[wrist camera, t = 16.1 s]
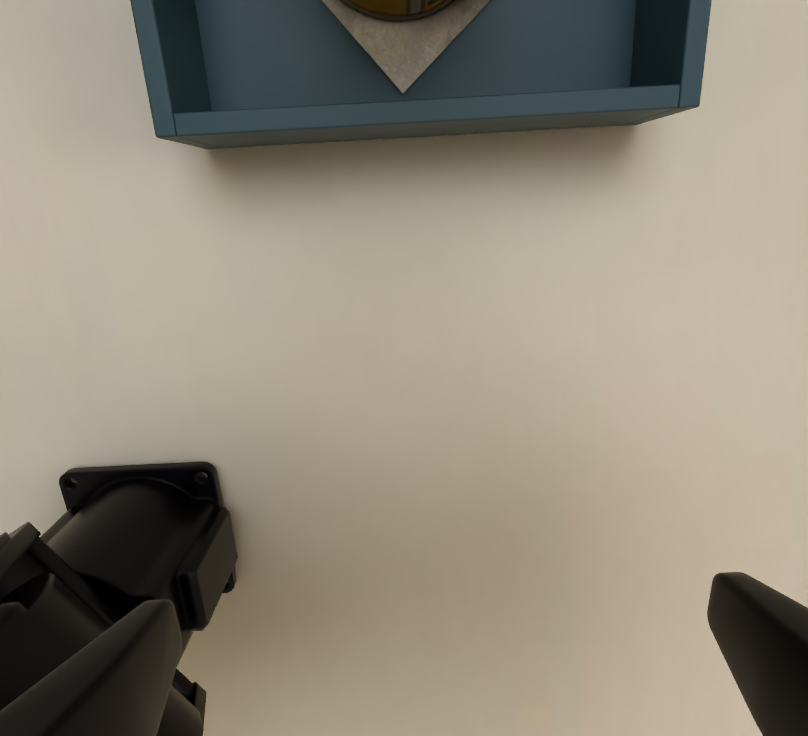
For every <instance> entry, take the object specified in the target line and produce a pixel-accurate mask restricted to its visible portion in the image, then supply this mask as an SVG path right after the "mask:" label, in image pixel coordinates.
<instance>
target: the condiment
mask: <svg viewBox="0 0 808 736" xmlns="http://www.w3.org/2000/svg"><path fill="white" fill-rule="evenodd" d="M322 1H323V2H324V3H325V4H326V6H327V7H328V8H329V9H330V10H331V11H332V13H333V14H334V15H335V16H336V17H337V18H338V19H339V21H340V22H341V23H342V24H343V25H344V26H345V28H346V29H347V30H348V31H349V32H350V33H351V35H352V36H353V37H354V38H355V39H356V40H357V41H358V43H359V44H360V45H361V46H362V47H363V48H364V50H365V51H366V52H367V53H369V54H370V56H371V57H372V58H373V59H374V61H375V62H376V63H377V64H378V65H379V66H380V68H381V69H382V70H383V71H384V72H385V73H386V75H387V76H388V77H389V78H390V79H391V80H392V81H393V83H394V84H395V85H396V86H397V87H398V89H399V90H400V91H401V92H402V93H404V92H405V91H406V90H407V89H408V87H409V86H410V85H411V84H412V83H413V82H414V81H415V80H416V79H417V78H418V77H419V76H420V75H421V74H422V73H423V72H424V70H425V69H426V68H427V67H428V66H429V65H430V64H431V63H432V62H433V61H434V60H435V59H436V58H437V57H438V56H439V55H440V53H441V52H442V51H443V50H444V49H445V48H446V47H447V46H448V45H449V44H450V42H451V41H452V40H453V39H454V38H455V37H456V36H457V35H458V34H459V33H460V32H461V31H462V30H463V29H464V28H465V27H466V26H467V25H468V23H469V22H470V21H471V20H472V19H473V18H474V17H475V16H476V15H477V14H478V13H479V11H480V10H481V9H482V8H483V7H484V6H485V5H486V4H487V3H488V2H489V1H490V0H322Z"/></svg>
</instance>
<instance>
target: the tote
mask: <svg viewBox="0 0 808 736" xmlns="http://www.w3.org/2000/svg"><path fill="white" fill-rule="evenodd" d="M131 6H132V11H133V17H134V22H135V27H136V33H137V38H138V43H139V49H140V54H141V59H142V65H143V70H144V75H145V81H146V86H147V91H148V97H149V102H150V107H151V113H152V118H153V123H154V129H155V134H156V137H158V138H161V139H166V140H170V141H175V142H179V143H183V144H188V145H192V146H196V147H201V148H205V149H214V148H231V147H249V146H267V145H284V144H302V143H320V142H337V141H355V140H373V139H390V138H408V137H426V136H443V135H461V134H479V133H496V132H514V131H532V130H549V129H567V128H585V127H602V126H620V125H637V124H641V123H644V122H647V121H651V120H654V119H658V118H661V117H665V116H668V115H672V114H675V113H678V112H682V111H685V110H689V109H692V108H696V107H698V106H699V104H700V95H701V86H702V78H703V69H704V60H705V52H706V43H707V34H708V25H709V17H710V8H711V0H490V1H489V2H488V3H487V4H486V5H485V6H484V7H483V8H482V9H481V10H480V11H479V13H478V14H477V15H476V16H475V17H474V18H473V19H472V20H471V21H470V22H469V23H468V25H467V26H466V27H465V28H464V29H463V30H462V31H461V32H460V33H459V34H458V35H457V36H456V37H455V38H454V39H453V40H452V41H451V42H450V44H449V45H448V46H447V47H446V48H445V49H444V50H443V51H442V52H441V53H440V55H439V56H438V57H437V58H436V59H435V60H434V61H433V62H432V63H431V64H430V65H429V66H428V67H427V68H426V69H425V70H424V72H423V73H422V74H421V75H420V76H419V77H418V78H417V79H416V80H415V81H414V82H413V83H412V84H411V85H410V86H409V87H408V89H407V90H406V91H405V92H404V93H402V92H401V91H400V90H399V89H398V87H397V86H396V85H395V84H394V83H393V81H392V80H391V79H390V78H389V77H388V76H387V75H386V73H385V72H384V71H383V70H382V69H381V68H380V66H379V65H378V64H377V63H376V62H375V61H374V59H373V58H372V57H371V56H370V54H369V53H367V52H366V51H365V50H364V48H363V47H362V46H361V45H360V44H359V43H358V41H357V40H356V39H355V38H354V37H353V36H352V35H351V33H350V32H349V31H348V30H347V29H346V28H345V26H344V25H343V24H342V23H341V22H340V21H339V19H338V18H337V17H336V16H335V15H334V14H333V13H332V11H331V10H330V9H329V8H328V7H327V6H326V4H325V3H324V2H323V1H322V0H131Z"/></svg>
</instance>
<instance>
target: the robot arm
mask: <svg viewBox="0 0 808 736" xmlns="http://www.w3.org/2000/svg"><path fill="white" fill-rule="evenodd" d="M199 472H204V473H206V474H207V476H208V477H206V478H205V477H202V476H201V475H200V474H199ZM71 479H74V480H75V481H76V482H77V484H75V483H74V482H72V480H71ZM59 485H60V488H61V491H62V495H63V498H64V501H65V505H66V508H67V512H66V513H65V514H64V515H63V516H62V517H61V518H60V519H59V520H58V521H57V522H56V523H55V524H54V525H53V526H52V527H51V528H50V529H48V530H47V531H46V532H45V533H44V534H43V535H42V536H41V537H39V535H40V534H41V533H40V532H39V531H38V530H37V529H36V528H35V527H34V526H33V525H32V524H30V523H29V522H27V523H26V524H24V525H22V526H21V527H19V528H18V529H16V530H15V531H13V532H12V533H10V534H9V535H8V534H7V533H6V532H5V533H3V534H2V535H0V736H203V730H204V729H203V726H204V714H205V703H206V691H205V690H204V689H203V688H202V687H201V686H200V685H199V684H197V683H196V682H194V683H192V682H190V681H189V680H188V679H187V678H186V677H185V676H184V675H183V674H182V673H181V672H180V671H179V670H178V669H177V668H176V667H177V665H178V663H179V661H180V659H181V657H182V654H183V652H184V650H185V648H186V646H187V644H188V642H189V639H190V637H191V635H192V633H193V631H202V630H203V629H204V628H205V627H206V626H207V625H208V624H209V621H210V619H211V617H212V615H213V612H214V610H215V608H216V606H217V603H218V601H219V599H220V597H221V594H222V593H228V592H230V591H232V589H233V588H234V586H235V583H236V580H237V577H236V571H235V566H234V565H235V563H236V561H237V558H238V556H237V550H236V545H235V539H234V534H233V529H232V523H231V518H230V512H229V511H228V510H227V509H226V508H225V507H223V502H222V497H221V492H220V487H219V481H218V476H217V471H216V469H215V467H214V466H213V465H212V464H210V463H208V462H189V463H170V464H150V465H131V466H111V467H91V468H73V469H70V470H68V471H67V472H66V473H65V474H63V475H62V476H61V477H60V479H59ZM707 615H708V622H709V625H710V628H711V631H712V633H713V635H714V637H715V639H716V641H717V643H718V645H719V647H720V649H721V651H722V654H723V656H724V658H725V660H726V662H727V664H728V666H729V668H730V670H731V672H732V675H733V677H734V679H735V681H736V683H737V685H738V687H739V689H740V691H741V693H742V695H743V698H744V700H745V702H746V704H747V706H748V708H749V710H750V712H751V714H752V716H753V718H754V720H755V722H756V724H757V726H758V727H759V729H760V731H761V733H762V734H763V736H808V608H807V607H805V606H803V605H801V604H800V603H798V602H796V601H794V600H792V599H790V598H789V597H787V596H785V595H783V594H781V593H780V592H778V591H776V590H774V589H772V588H770V587H769V586H767V585H765V584H763V583H761V582H760V581H758V580H756V579H754V578H752V577H751V576H749V575H747V574H745V573H742V572H728V573H718V574H716V575H715V576H714V578H713V581H712V587H711V593H710V599H709V605H708V612H707Z"/></svg>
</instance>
